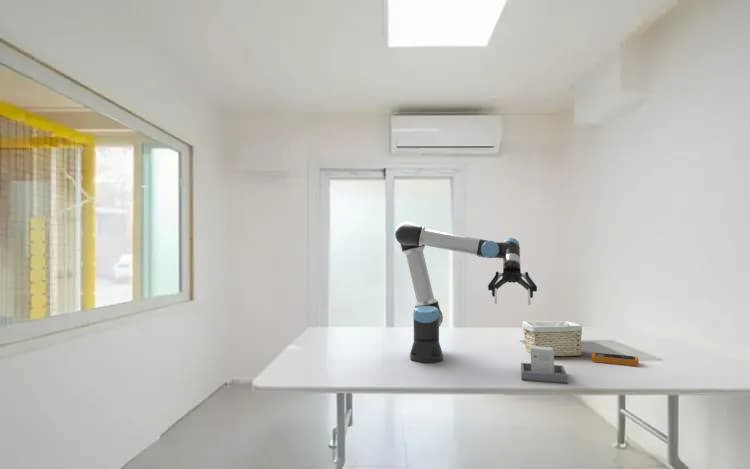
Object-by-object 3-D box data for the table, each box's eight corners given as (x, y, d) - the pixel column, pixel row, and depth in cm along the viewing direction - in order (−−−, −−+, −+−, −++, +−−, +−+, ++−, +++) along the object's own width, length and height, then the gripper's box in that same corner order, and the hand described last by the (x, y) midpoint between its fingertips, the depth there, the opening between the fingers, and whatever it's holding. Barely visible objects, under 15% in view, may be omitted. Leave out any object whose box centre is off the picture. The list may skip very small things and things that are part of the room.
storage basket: (533, 357, 201) (532, 325, 202) (521, 349, 217) (520, 320, 218) (584, 357, 201) (583, 325, 202) (568, 349, 217) (568, 320, 218)
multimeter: (638, 368, 183) (638, 359, 183) (591, 362, 192) (591, 355, 192) (638, 363, 191) (637, 355, 191) (592, 358, 200) (592, 351, 200)
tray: (521, 380, 165) (521, 372, 165) (521, 370, 179) (520, 362, 179) (567, 383, 160) (567, 375, 160) (562, 373, 174) (562, 365, 174)
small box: (554, 374, 170) (554, 347, 170) (552, 378, 165) (552, 350, 166) (533, 371, 174) (532, 345, 174) (530, 375, 169) (530, 348, 170)
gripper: (540, 271, 196) (543, 308, 181) (484, 271, 203) (482, 306, 188) (541, 260, 191) (544, 297, 176) (483, 259, 199) (481, 295, 184)
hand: (512, 302), depth 182 cm, fingers open, 13 cm apart
